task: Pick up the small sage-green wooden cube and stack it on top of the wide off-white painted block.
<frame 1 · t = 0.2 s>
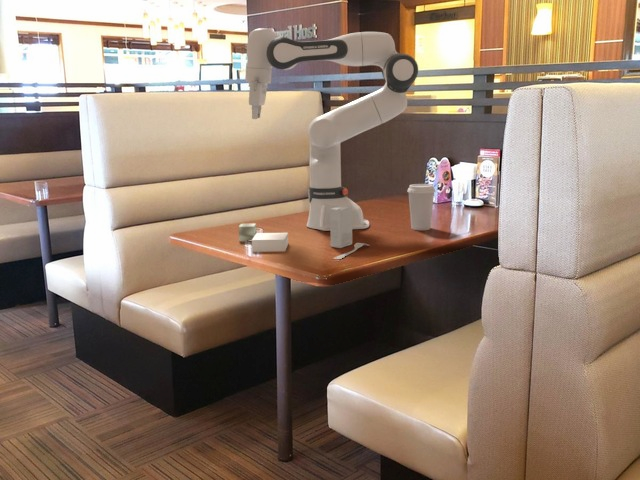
hand: (256, 118, 221), 39 cm above the table, tool pointing down, fingers open, 8 cm apart
skincare box: (341, 246, 197), on the table
coffee cup: (420, 229, 220), on the table
painted block: (270, 248, 197), on the table
fork: (352, 254, 189), on the table
sage cube: (248, 239, 210), on the table
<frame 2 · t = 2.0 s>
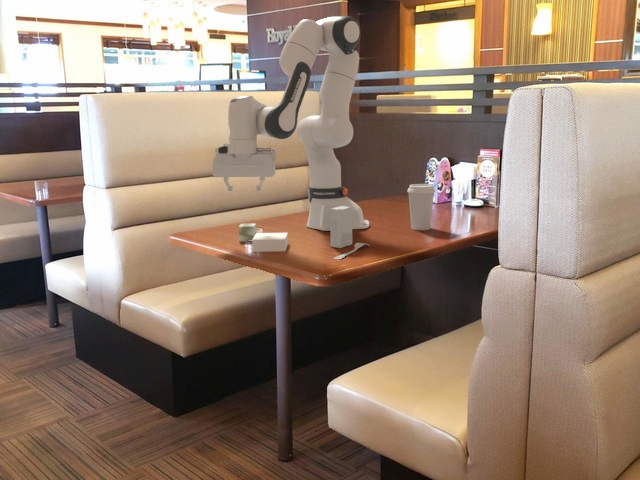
hand: (244, 191, 206), 16 cm above the table, tool pointing down, fingers open, 8 cm apart
nothing on the table moved.
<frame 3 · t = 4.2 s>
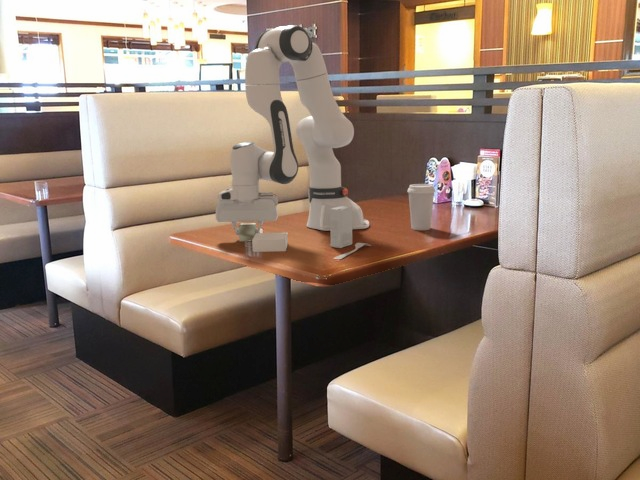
hand: (247, 234, 209), 2 cm above the table, tool pointing down, fingers closed on sage cube, 5 cm apart
sage cube: (248, 239, 210), on the table, touching gripper
everything else where it was.
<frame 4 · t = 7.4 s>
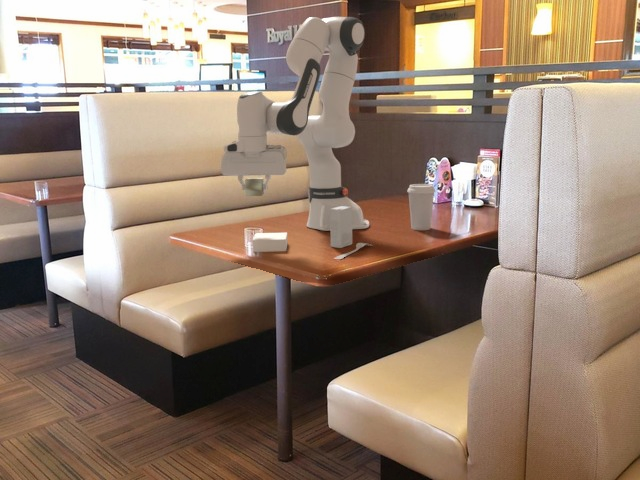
hand: (254, 189, 200), 17 cm above the table, tool pointing down, fingers closed on sage cube, 5 cm apart
sage cube: (255, 194, 201), point 16 cm above the table, touching gripper
everything else where it was.
when the fingers open (7 cm above the table, at t = 10.8 s): sage cube drops 2 cm, point 4 cm above the table.
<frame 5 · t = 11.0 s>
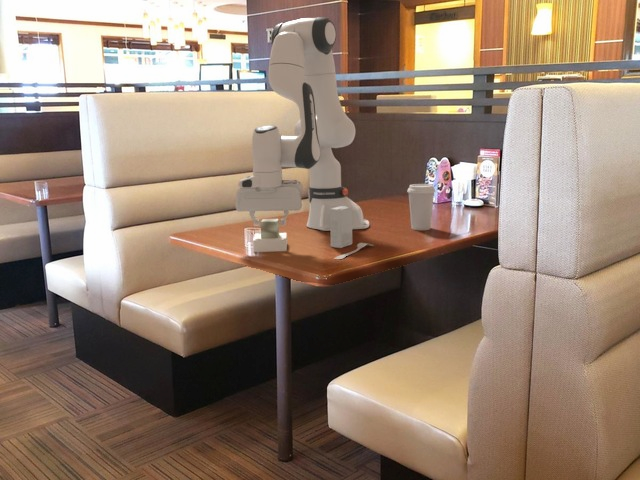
hand: (269, 225, 196), 7 cm above the table, tool pointing down, fingers open, 7 cm apart
sage cube: (270, 236, 197), point 4 cm above the table
everything else where it was.
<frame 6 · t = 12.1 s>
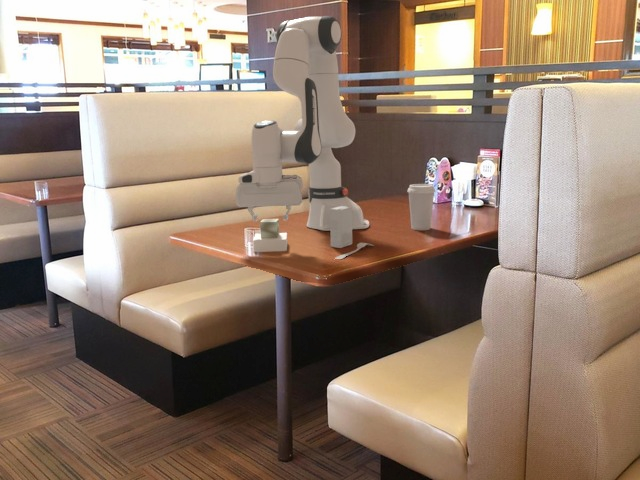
hand: (270, 220, 196), 9 cm above the table, tool pointing down, fingers open, 8 cm apart
nothing on the table moved.
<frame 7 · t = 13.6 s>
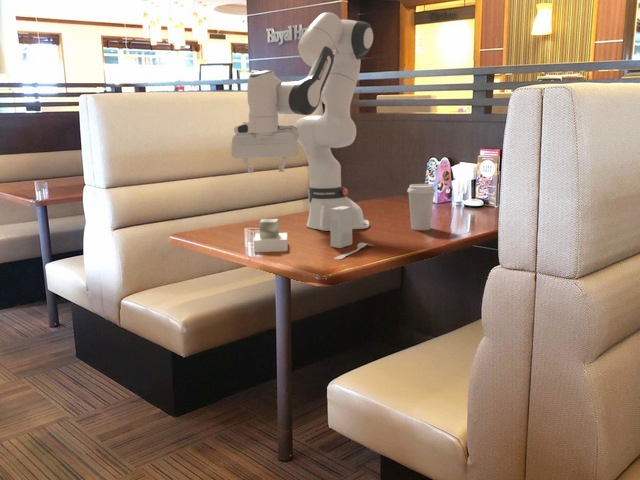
hand: (266, 172, 194), 23 cm above the table, tool pointing down, fingers open, 8 cm apart
painted block: (271, 249, 197), on the table, touching sage cube
sage cube: (269, 236, 197), point 4 cm above the table, touching painted block
everything else where it was.
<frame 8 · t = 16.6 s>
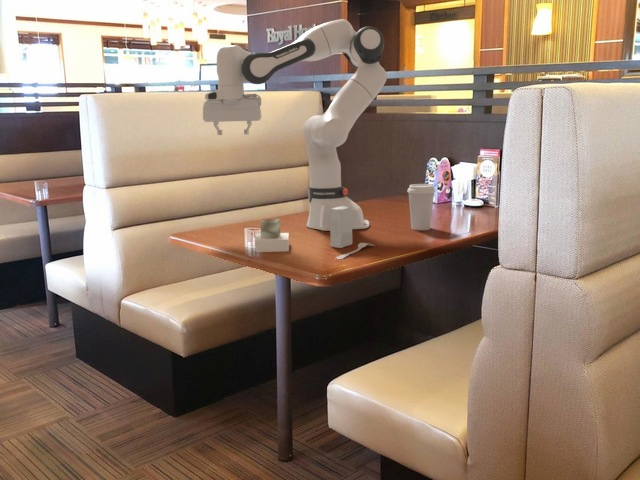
hand: (233, 134, 223), 33 cm above the table, tool pointing down, fingers open, 8 cm apart
nothing on the table moved.
at the end: sage cube 0.4 cm off-centre on the painted block, point 4.0 cm above the painted block's base; sage cube tilted 0°; the gripper is holding nothing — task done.
